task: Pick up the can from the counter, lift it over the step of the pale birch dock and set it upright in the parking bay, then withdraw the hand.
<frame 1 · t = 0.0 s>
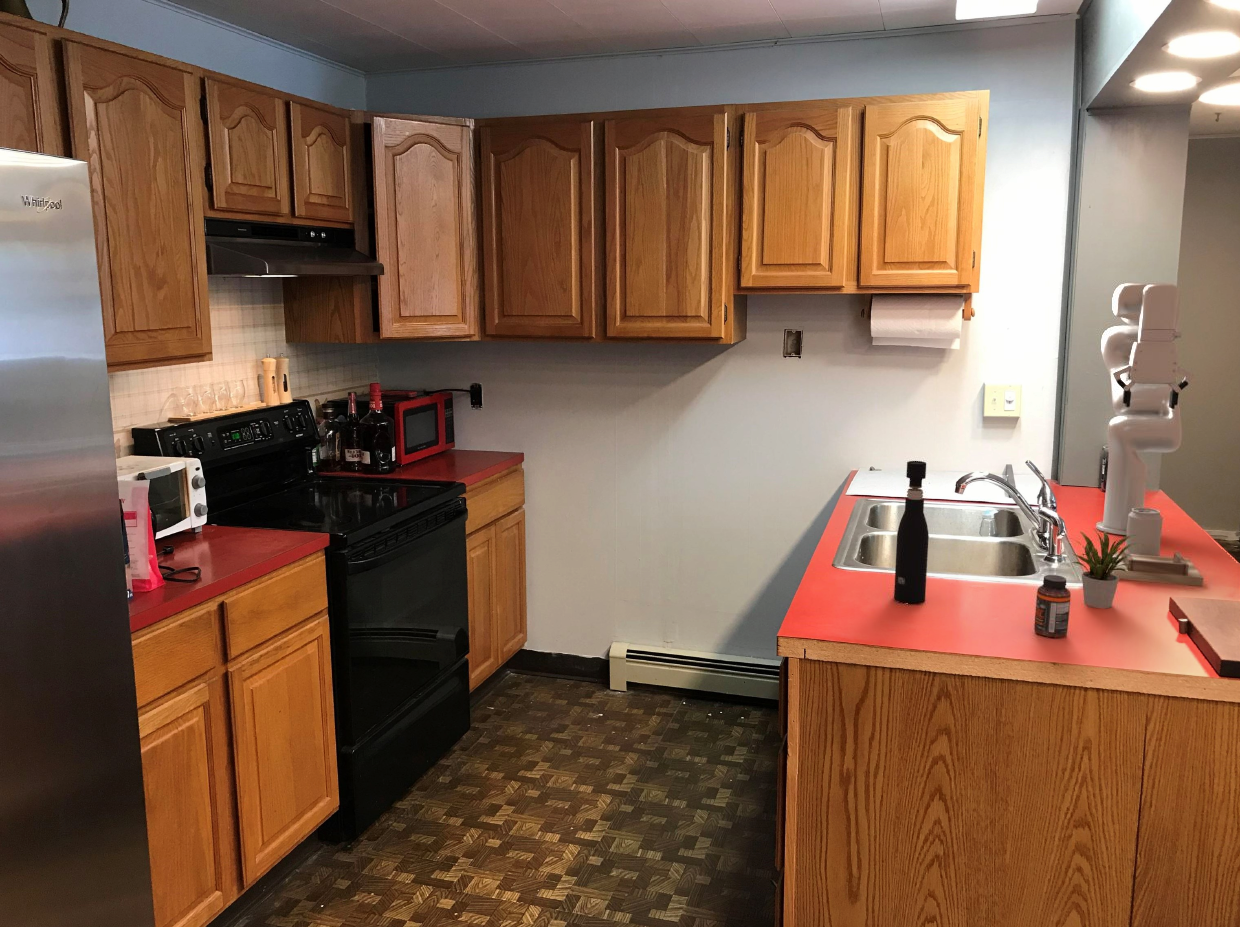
hand: (1149, 407, 236), 37 cm above the table, tool pointing down, fingers open, 9 cm apart
can: (1141, 557, 240), on the table
house plant: (1104, 605, 204), on the table
black insulated water bottle: (909, 600, 208), on the table
supplement bottle: (1050, 634, 188), on the table
dock: (1151, 572, 227), on the table
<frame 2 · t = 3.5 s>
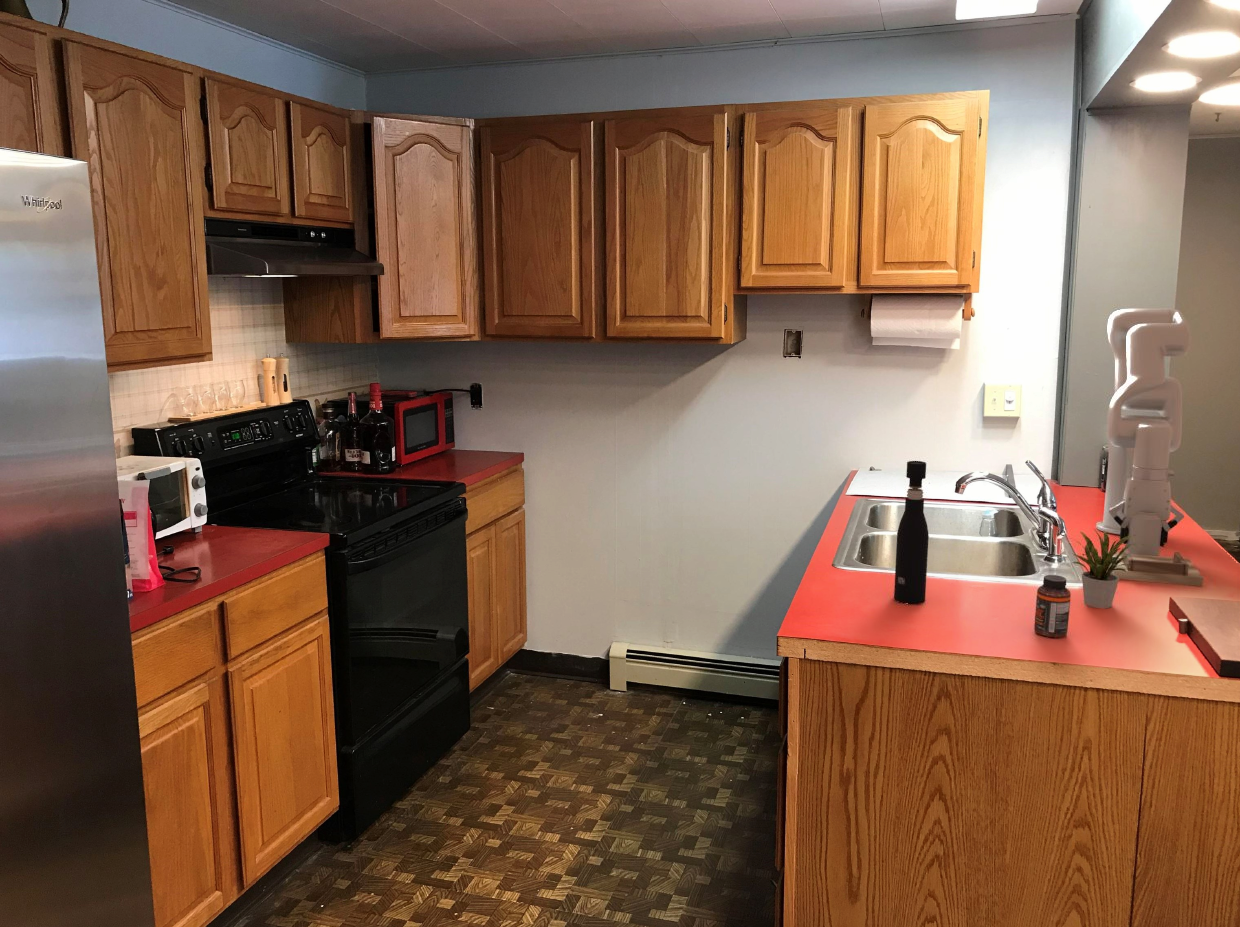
hand: (1142, 543, 239), 3 cm above the table, tool pointing down, fingers closed on can, 7 cm apart
can: (1141, 557, 240), on the table, touching gripper
everything else where it was.
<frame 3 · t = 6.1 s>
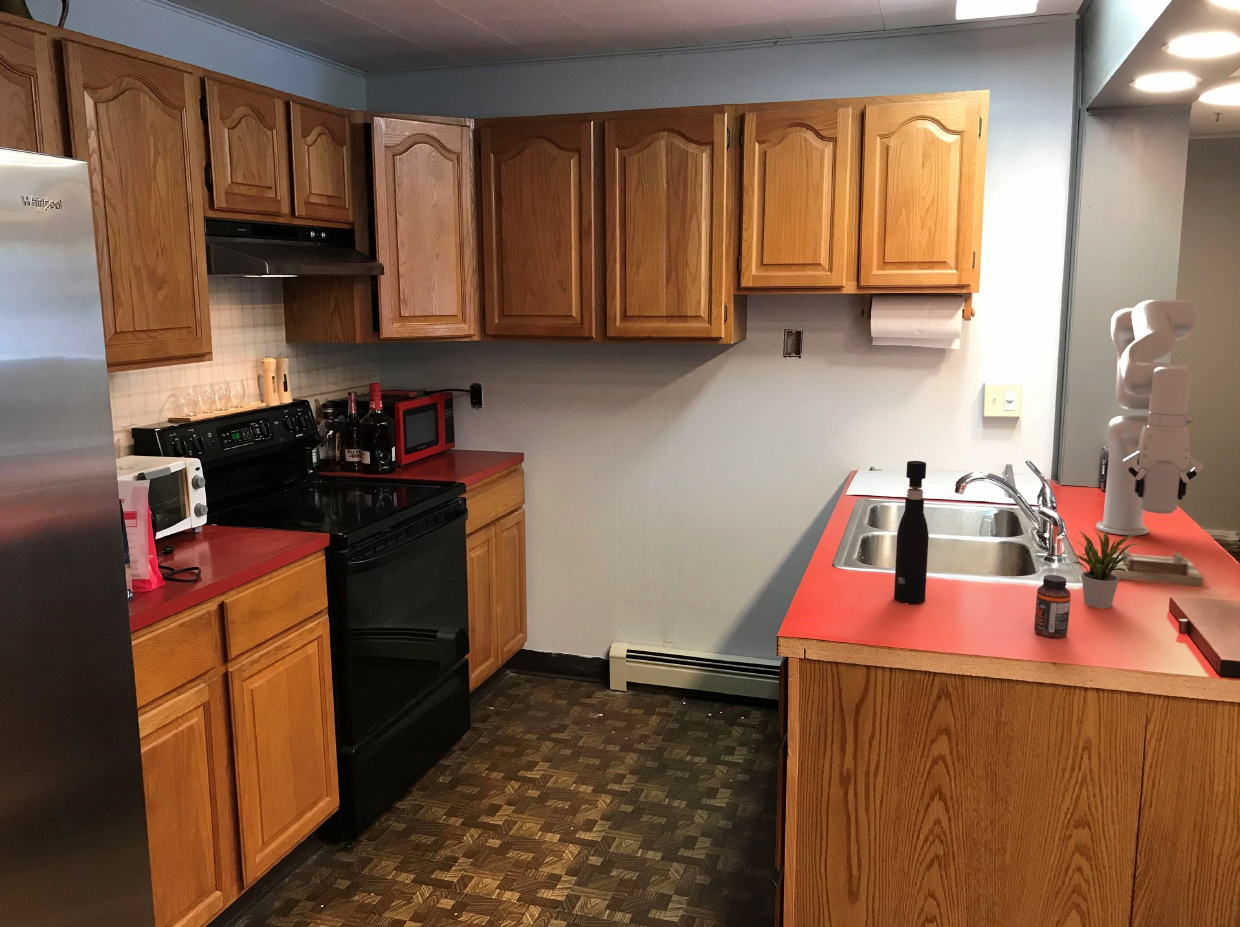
hand: (1159, 496, 223), 18 cm above the table, tool pointing down, fingers closed on can, 7 cm apart
can: (1157, 511, 223), point 15 cm above the table, touching gripper
everything else where it was.
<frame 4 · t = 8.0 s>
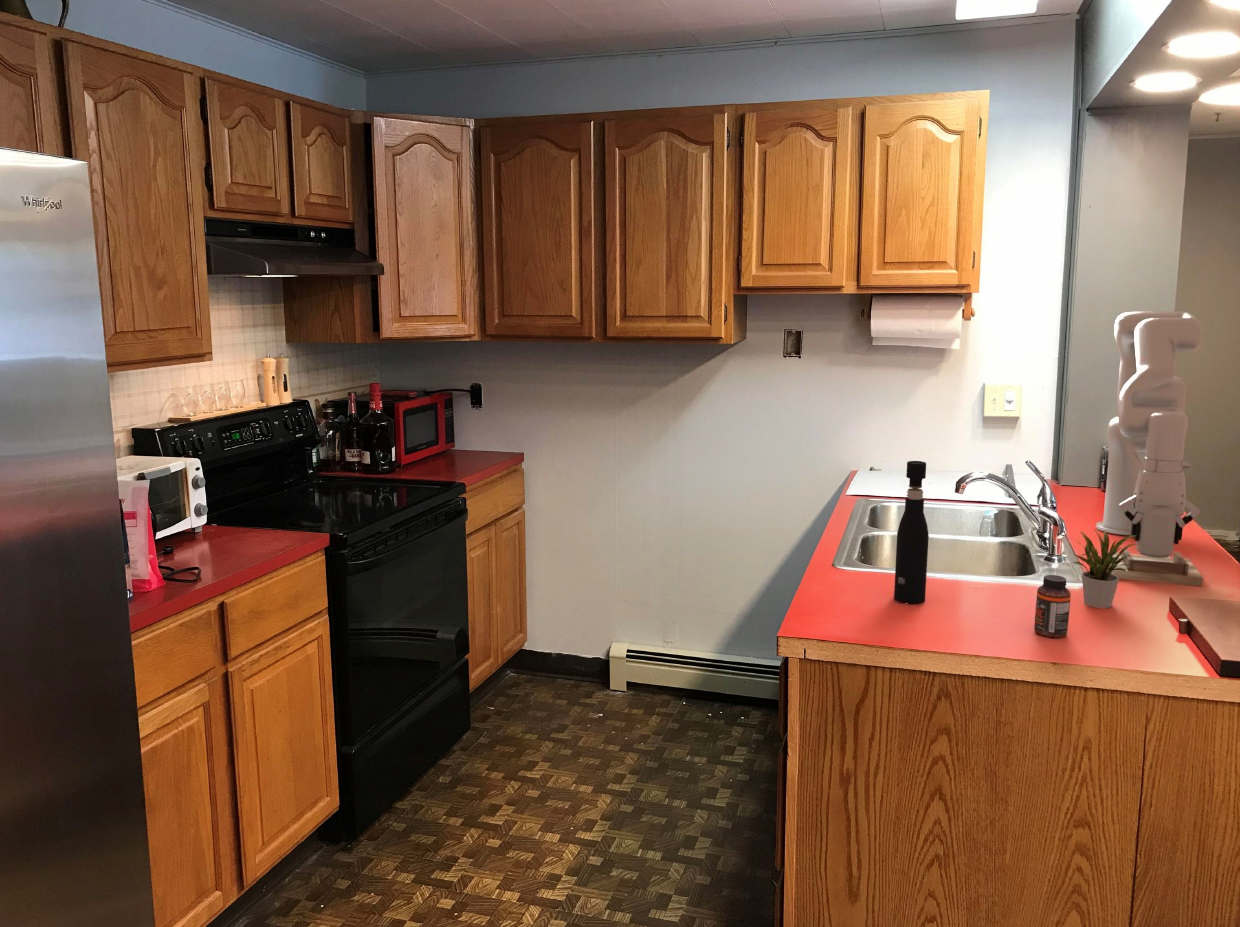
hand: (1155, 540, 224), 8 cm above the table, tool pointing down, fingers closed on can, 7 cm apart
can: (1154, 555, 225), point 5 cm above the table, touching gripper
everything else where it was.
when the fingers open (7 cm above the table, at t = 9.2 s): can drops 2 cm, resting on dock.
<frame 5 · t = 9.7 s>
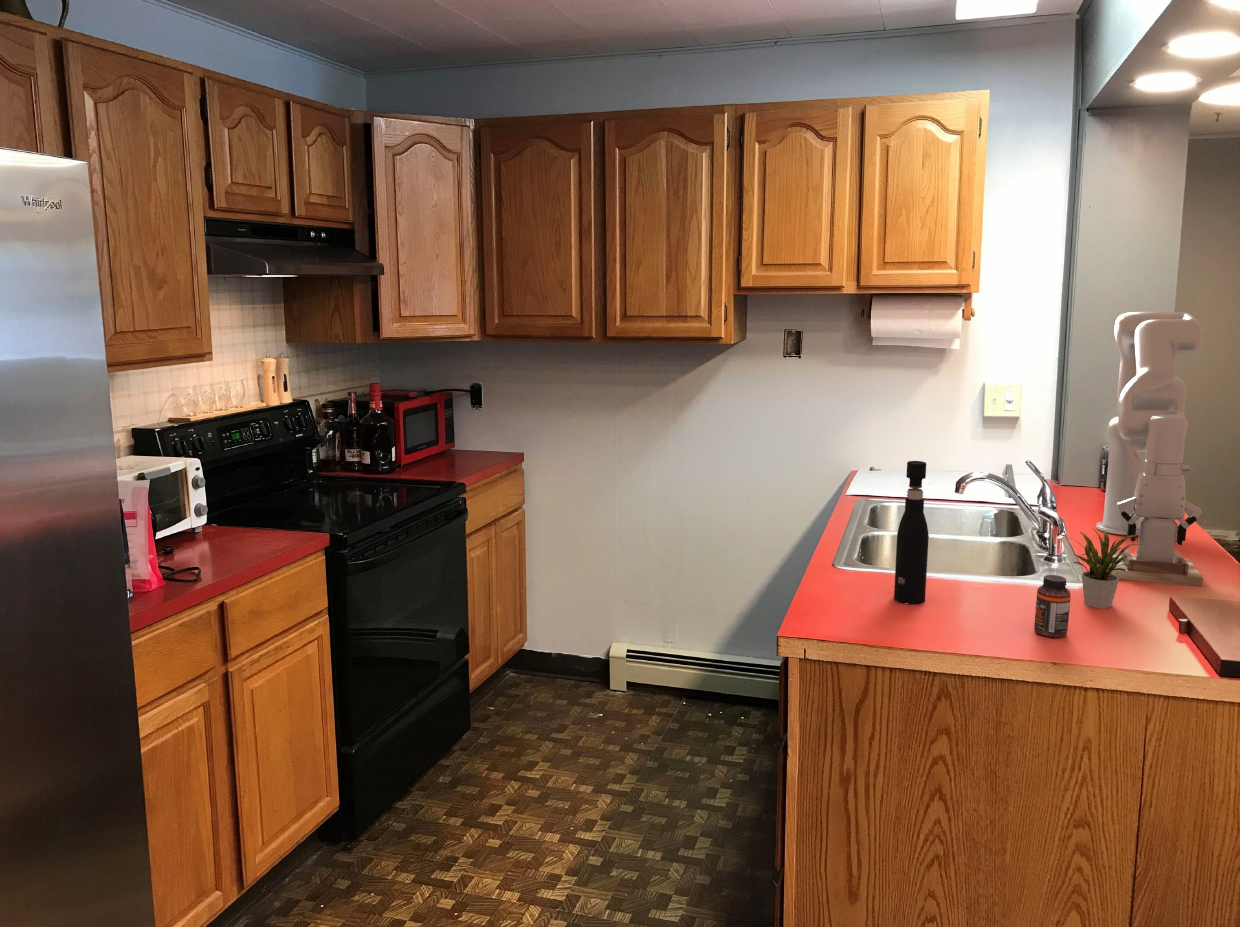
hand: (1155, 541, 224), 8 cm above the table, tool pointing down, fingers open, 9 cm apart
can: (1153, 566, 225), point 2 cm above the table, touching dock
everything else where it was.
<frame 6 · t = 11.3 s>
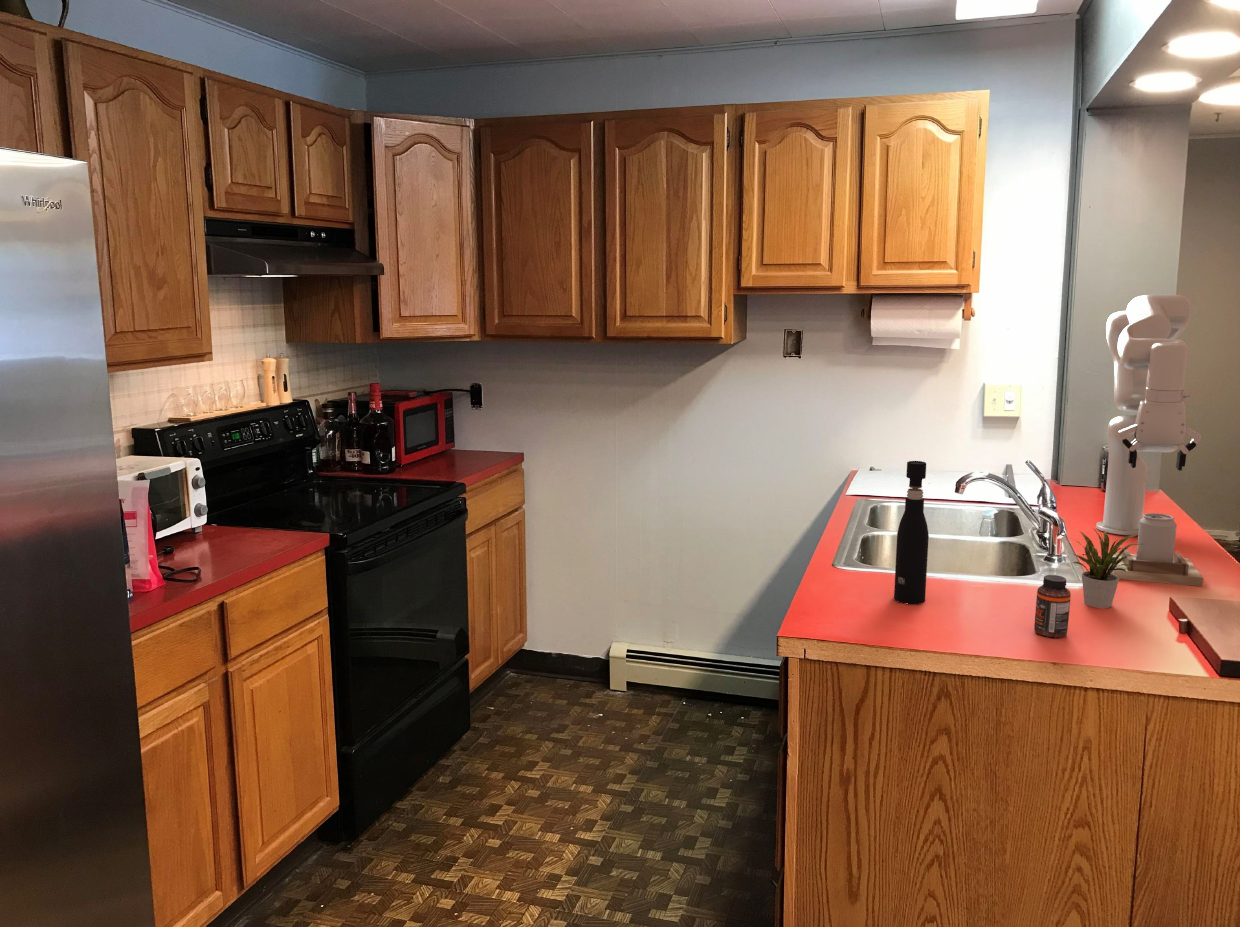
hand: (1155, 468, 229), 24 cm above the table, tool pointing down, fingers open, 9 cm apart
nothing on the table moved.
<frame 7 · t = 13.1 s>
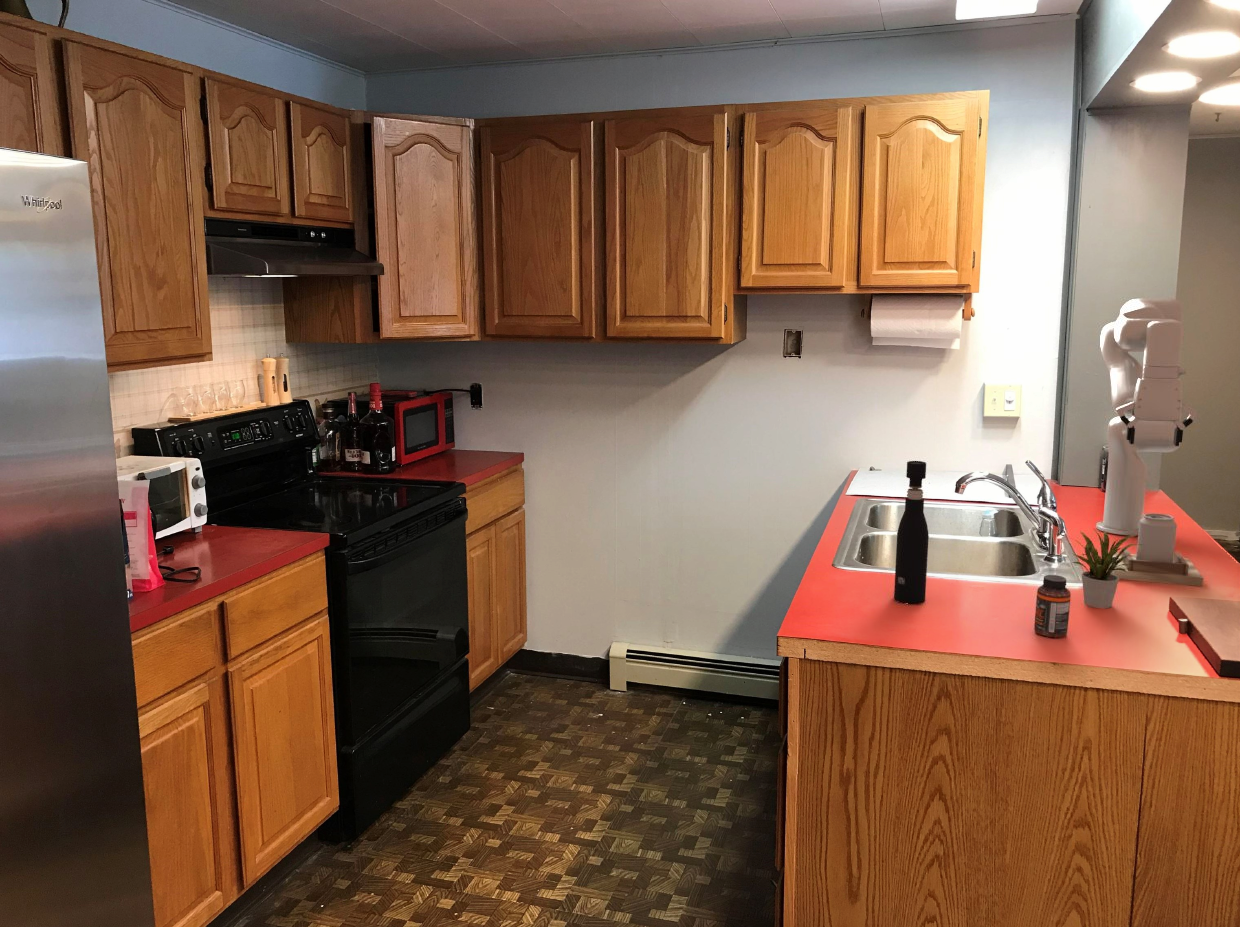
hand: (1153, 444, 234), 28 cm above the table, tool pointing down, fingers open, 9 cm apart
nothing on the table moved.
at the end: can inside the target area on the dock (0.4 cm from its centre), point 1.8 cm above the dock's base; can tilted 0°; the gripper is holding nothing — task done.
